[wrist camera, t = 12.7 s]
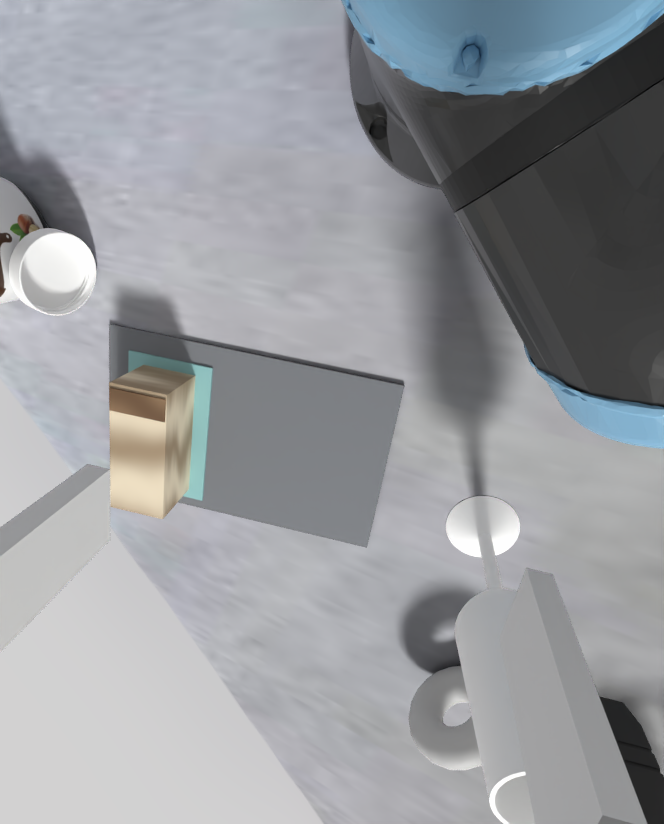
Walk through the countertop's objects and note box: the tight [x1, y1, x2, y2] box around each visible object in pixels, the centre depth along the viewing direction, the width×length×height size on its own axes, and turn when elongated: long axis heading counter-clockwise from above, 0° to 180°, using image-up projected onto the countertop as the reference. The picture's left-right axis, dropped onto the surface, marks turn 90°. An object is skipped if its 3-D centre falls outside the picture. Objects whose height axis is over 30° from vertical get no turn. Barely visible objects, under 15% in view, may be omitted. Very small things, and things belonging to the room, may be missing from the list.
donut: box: [409, 666, 482, 770], centre depth 48 cm, size 10×4×10 cm, turn 116°
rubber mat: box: [109, 324, 404, 548], centre depth 47 cm, size 17×27×1 cm, turn 81°
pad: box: [128, 350, 213, 501], centre depth 48 cm, size 14×8×1 cm, turn 171°
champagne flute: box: [446, 496, 535, 824], centre depth 35 cm, size 7×7×24 cm
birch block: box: [109, 365, 196, 519], centre depth 45 cm, size 12×5×6 cm, turn 171°
